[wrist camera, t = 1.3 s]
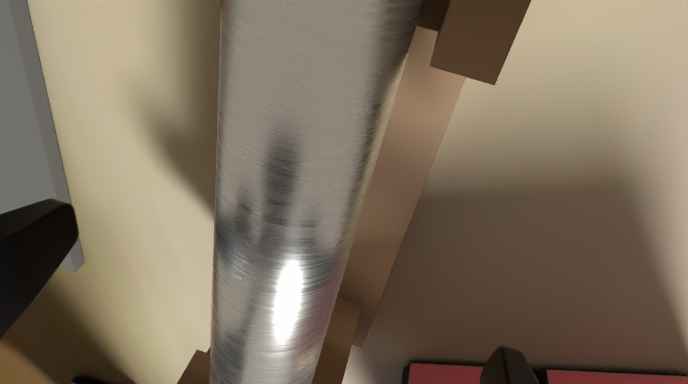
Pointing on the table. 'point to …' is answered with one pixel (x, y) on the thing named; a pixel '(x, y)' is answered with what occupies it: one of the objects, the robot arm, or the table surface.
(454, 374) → the puzzle cube
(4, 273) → the robot arm
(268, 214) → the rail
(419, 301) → the table surface
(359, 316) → the rack
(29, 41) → the mat
